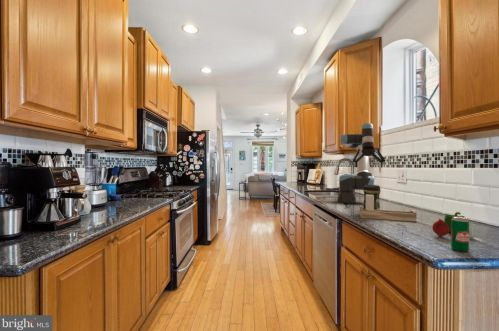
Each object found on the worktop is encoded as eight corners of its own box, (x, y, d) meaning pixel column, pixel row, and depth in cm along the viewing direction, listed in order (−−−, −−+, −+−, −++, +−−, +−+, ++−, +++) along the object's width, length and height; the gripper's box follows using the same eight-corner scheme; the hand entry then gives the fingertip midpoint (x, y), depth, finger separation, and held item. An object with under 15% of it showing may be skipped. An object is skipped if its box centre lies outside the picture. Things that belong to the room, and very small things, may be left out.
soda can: (456, 252, 89) (457, 218, 89) (447, 247, 94) (448, 215, 94) (472, 253, 88) (473, 219, 88) (462, 248, 93) (463, 216, 93)
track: (359, 214, 155) (359, 206, 155) (411, 218, 146) (411, 209, 146) (361, 218, 146) (361, 209, 146) (417, 221, 136) (417, 212, 136)
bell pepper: (442, 229, 120) (443, 209, 120) (465, 232, 116) (465, 210, 116) (445, 233, 113) (445, 211, 113) (469, 236, 109) (469, 213, 109)
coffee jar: (360, 212, 161) (360, 184, 161) (368, 211, 165) (368, 183, 165) (374, 215, 153) (374, 185, 153) (382, 214, 157) (382, 184, 157)
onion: (451, 237, 107) (451, 219, 107) (445, 239, 104) (445, 220, 104) (436, 234, 112) (436, 216, 112) (429, 236, 109) (429, 217, 109)
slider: (365, 211, 152) (365, 194, 152) (372, 212, 150) (373, 194, 150) (366, 213, 147) (366, 195, 147) (373, 213, 146) (374, 195, 146)
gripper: (349, 141, 177) (349, 169, 169) (388, 140, 169) (390, 169, 161) (348, 146, 184) (348, 173, 176) (386, 145, 175) (388, 174, 168)
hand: (369, 171), depth 168 cm, fingers open, 13 cm apart
